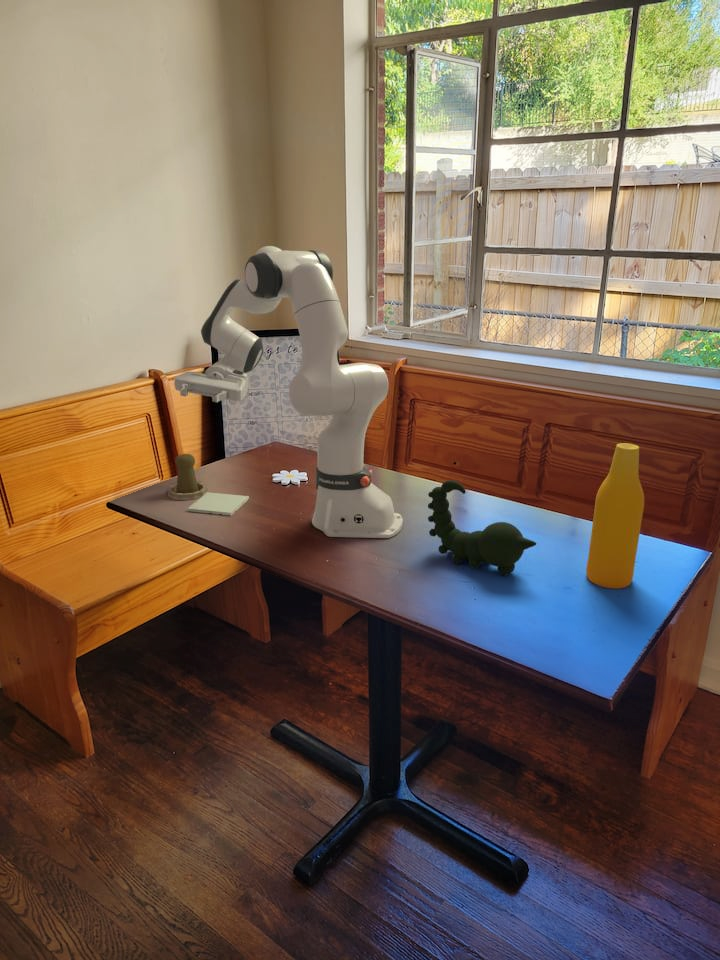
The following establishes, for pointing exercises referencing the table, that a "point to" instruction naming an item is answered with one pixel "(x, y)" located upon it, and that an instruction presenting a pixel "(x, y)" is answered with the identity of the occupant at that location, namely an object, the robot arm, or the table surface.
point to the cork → (186, 474)
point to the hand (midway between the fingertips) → (198, 396)
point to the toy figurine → (475, 536)
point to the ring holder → (187, 495)
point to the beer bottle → (617, 521)
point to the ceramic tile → (218, 503)
